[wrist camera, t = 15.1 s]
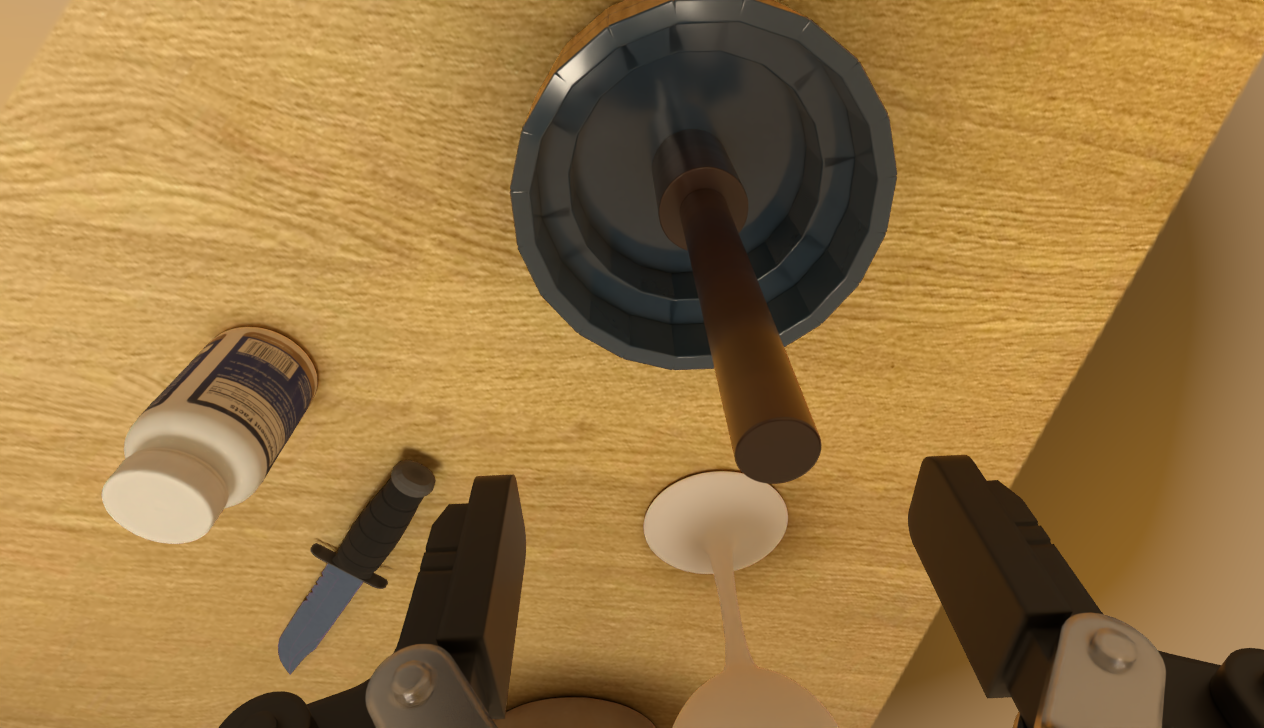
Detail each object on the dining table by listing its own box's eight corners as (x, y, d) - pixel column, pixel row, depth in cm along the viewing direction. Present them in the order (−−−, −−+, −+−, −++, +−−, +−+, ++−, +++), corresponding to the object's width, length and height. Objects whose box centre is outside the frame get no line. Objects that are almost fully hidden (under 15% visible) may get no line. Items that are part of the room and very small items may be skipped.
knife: (361, 462, 35) (447, 510, 36) (381, 434, 37) (462, 480, 38) (235, 669, 47) (302, 700, 48) (256, 639, 49) (319, 670, 50)
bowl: (510, -12, 25) (484, 6, 20) (869, -25, 25) (933, -11, 20) (546, 305, 33) (534, 376, 28) (824, 295, 33) (862, 363, 28)
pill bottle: (237, 416, 36) (126, 563, 28) (188, 329, 33) (49, 465, 25) (336, 405, 36) (254, 550, 27) (296, 317, 33) (191, 449, 24)
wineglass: (621, 496, 40) (628, 955, 22) (764, 450, 38) (895, 908, 20) (673, 585, 44) (713, 1025, 27) (802, 548, 42) (937, 992, 25)
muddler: (651, 130, 27) (698, 389, 12) (730, 127, 27) (873, 382, 12) (652, 206, 29) (695, 514, 14) (726, 203, 29) (848, 508, 14)
